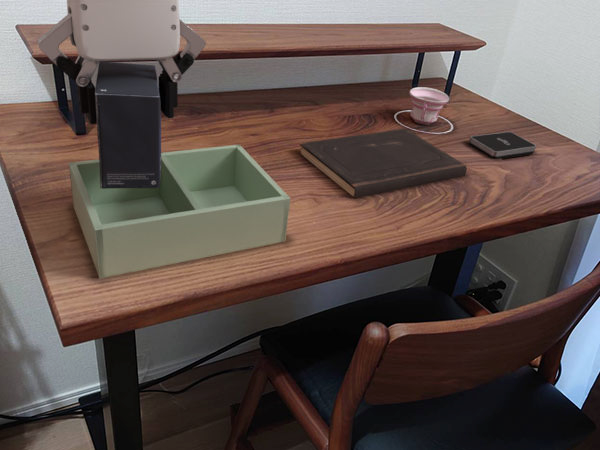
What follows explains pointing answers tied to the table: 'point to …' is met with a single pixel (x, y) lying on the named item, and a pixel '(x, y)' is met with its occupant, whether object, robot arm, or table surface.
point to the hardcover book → (381, 162)
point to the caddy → (179, 211)
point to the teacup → (426, 106)
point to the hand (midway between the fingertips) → (130, 115)
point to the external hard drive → (502, 145)
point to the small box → (128, 125)
